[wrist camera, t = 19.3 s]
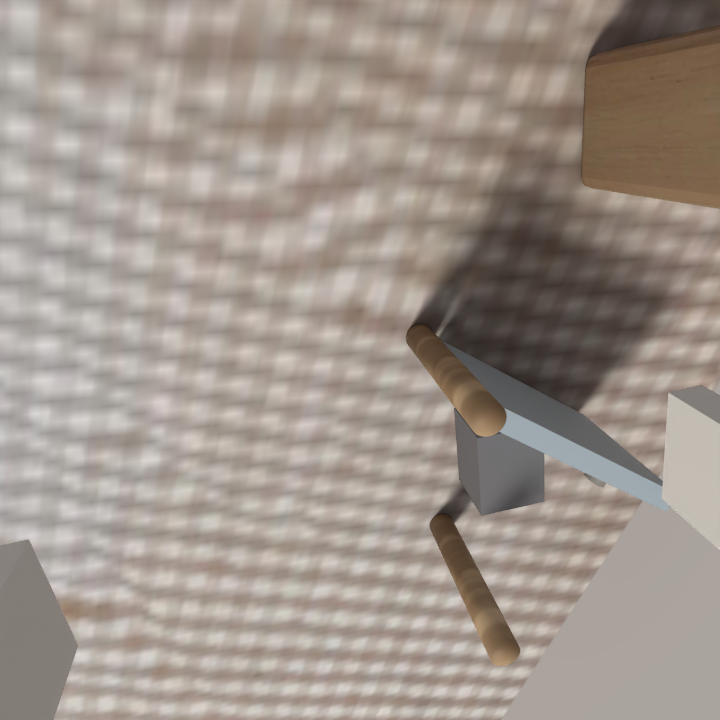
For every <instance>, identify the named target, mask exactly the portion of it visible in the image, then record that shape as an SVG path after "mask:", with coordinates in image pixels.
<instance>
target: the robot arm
mask: <svg viewBox="0 0 720 720" xmlns="http://www.w3.org/2000/svg"><path fill="white" fill-rule="evenodd" d="M662 500H664V501H665V502H666V503H667V504H668V505H669V506H670V507H672V508H673V509H674V510H675V511H676V512H677V513H678V514H679V515H681V516H682V517H683V518H684V519H685V520H686V521H687V522H688V523H690V524H691V525H692V526H693V527H694V528H695V529H696V530H697V531H699V532H700V533H701V534H702V535H703V536H704V537H705V538H707V539H708V540H709V541H710V542H711V543H712V544H713V545H714V546H716V547H717V548H718V549H719V550H720V395H718V394H717V393H715V392H713V391H711V390H709V389H708V388H706V387H704V386H702V385H700V386H695V387H691V388H687V389H682V390H678V391H673V392H669V394H668V410H667V425H666V440H665V456H664V471H663V486H662ZM77 647H78V644H77V642H76V640H75V638H74V635H73V633H72V631H71V629H70V627H69V625H68V623H67V620H66V618H65V616H64V614H63V612H62V610H61V608H60V605H59V603H58V601H57V599H56V597H55V595H54V592H53V590H52V588H51V586H50V584H49V582H48V580H47V577H46V575H45V573H44V571H43V569H42V567H41V565H40V562H39V560H38V558H37V556H36V554H35V552H34V550H33V547H32V545H31V543H30V541H29V539H28V540H24V541H19V542H15V543H11V544H6V545H2V546H0V720H53V719H54V716H55V713H56V710H57V707H58V704H59V701H60V698H61V695H62V692H63V689H64V686H65V683H66V680H67V677H68V674H69V671H70V668H71V665H72V662H73V659H74V656H75V653H76V650H77Z"/></svg>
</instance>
